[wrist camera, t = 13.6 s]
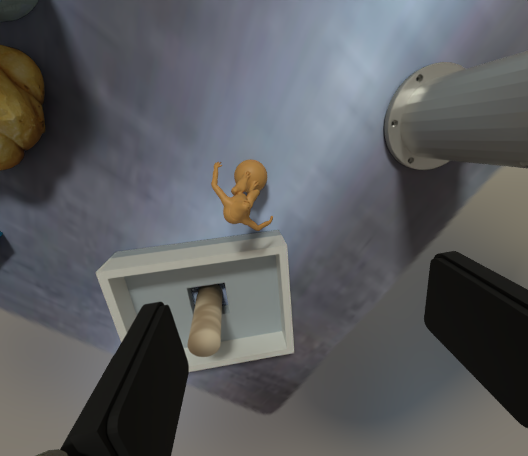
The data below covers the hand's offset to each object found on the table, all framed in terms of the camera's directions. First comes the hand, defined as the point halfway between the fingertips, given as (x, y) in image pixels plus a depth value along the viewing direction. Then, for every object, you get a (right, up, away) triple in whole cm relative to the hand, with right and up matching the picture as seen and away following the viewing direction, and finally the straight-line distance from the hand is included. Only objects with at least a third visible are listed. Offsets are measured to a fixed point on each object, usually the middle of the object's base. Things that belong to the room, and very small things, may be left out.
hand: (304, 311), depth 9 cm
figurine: (-4, +9, +24) cm, 26 cm away
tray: (-9, -7, +28) cm, 31 cm away
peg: (-9, -7, +28) cm, 31 cm away
